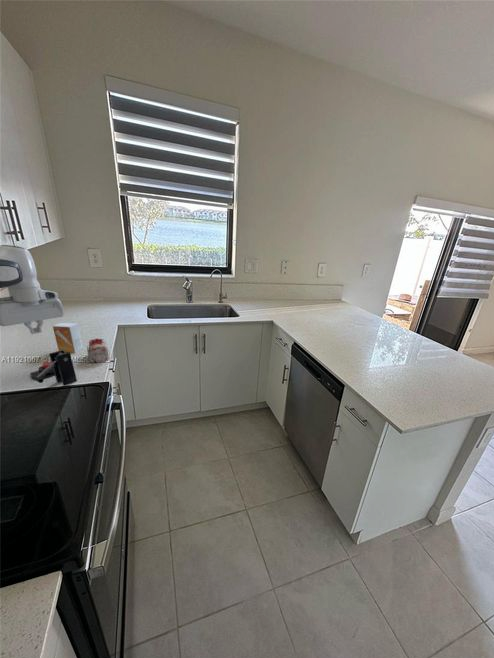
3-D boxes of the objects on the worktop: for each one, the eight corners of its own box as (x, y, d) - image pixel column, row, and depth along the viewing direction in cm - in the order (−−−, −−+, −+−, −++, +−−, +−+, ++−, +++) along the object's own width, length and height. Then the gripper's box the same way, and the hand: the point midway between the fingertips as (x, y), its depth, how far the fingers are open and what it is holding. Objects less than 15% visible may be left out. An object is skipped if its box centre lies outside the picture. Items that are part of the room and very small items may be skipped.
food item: (111, 363, 128) (107, 342, 124) (90, 367, 124) (85, 345, 120) (108, 353, 138) (104, 334, 134) (88, 356, 134) (84, 336, 130)
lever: (42, 384, 98) (36, 380, 96) (34, 381, 100) (28, 376, 98) (70, 358, 104) (65, 354, 103) (62, 355, 107) (57, 351, 105)
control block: (42, 383, 109) (40, 373, 107) (31, 378, 112) (28, 368, 111) (70, 373, 117) (68, 364, 115) (59, 369, 120) (57, 360, 119)
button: (46, 370, 111) (45, 366, 110) (41, 368, 112) (40, 364, 112) (56, 367, 114) (55, 363, 113) (51, 365, 115) (50, 361, 115)
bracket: (57, 394, 101) (48, 361, 96) (43, 388, 105) (33, 355, 100) (90, 381, 111) (84, 350, 106) (77, 376, 115) (69, 346, 110)
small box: (58, 352, 137) (51, 326, 133) (67, 348, 143) (61, 322, 138) (75, 353, 137) (69, 326, 132) (83, 348, 143) (78, 323, 138)
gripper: (-7, 299, 91) (5, 341, 96) (62, 292, 108) (69, 328, 113) (-16, 297, 94) (-4, 338, 99) (52, 291, 111) (60, 326, 116)
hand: (36, 333), depth 106 cm, fingers closed
